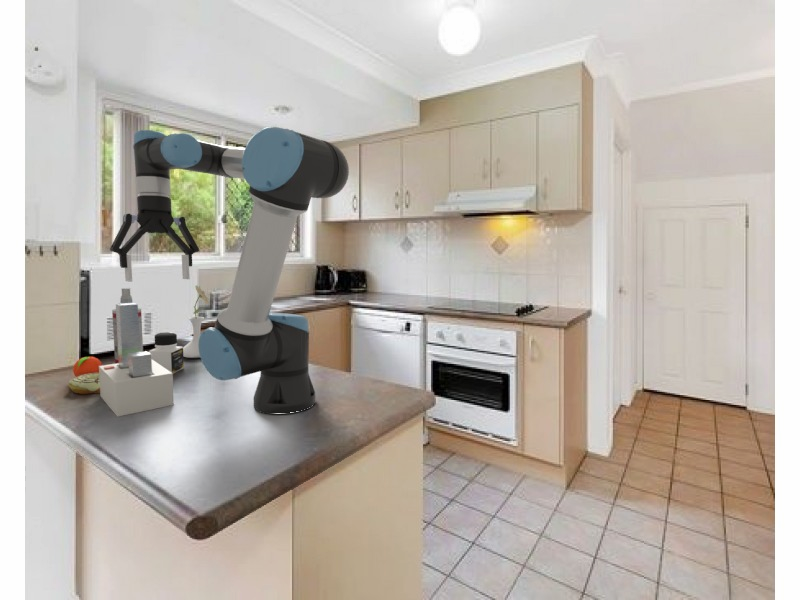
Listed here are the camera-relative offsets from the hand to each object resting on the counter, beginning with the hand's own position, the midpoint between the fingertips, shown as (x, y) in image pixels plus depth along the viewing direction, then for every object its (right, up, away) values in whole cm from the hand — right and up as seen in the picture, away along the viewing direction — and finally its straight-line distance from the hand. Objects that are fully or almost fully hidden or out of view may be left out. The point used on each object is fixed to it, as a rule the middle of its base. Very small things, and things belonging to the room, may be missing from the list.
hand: (158, 280), depth 115 cm
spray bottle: (-25, -26, +29) cm, 47 cm away
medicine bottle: (-10, -27, +24) cm, 38 cm away
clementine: (-27, -28, +12) cm, 41 cm away
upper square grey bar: (-8, -24, +1) cm, 25 cm away
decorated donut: (-21, -29, +6) cm, 36 cm away
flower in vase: (-9, -25, +43) cm, 51 cm away
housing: (-4, -30, -2) cm, 31 cm away
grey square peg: (-1, -31, -6) cm, 31 cm away
